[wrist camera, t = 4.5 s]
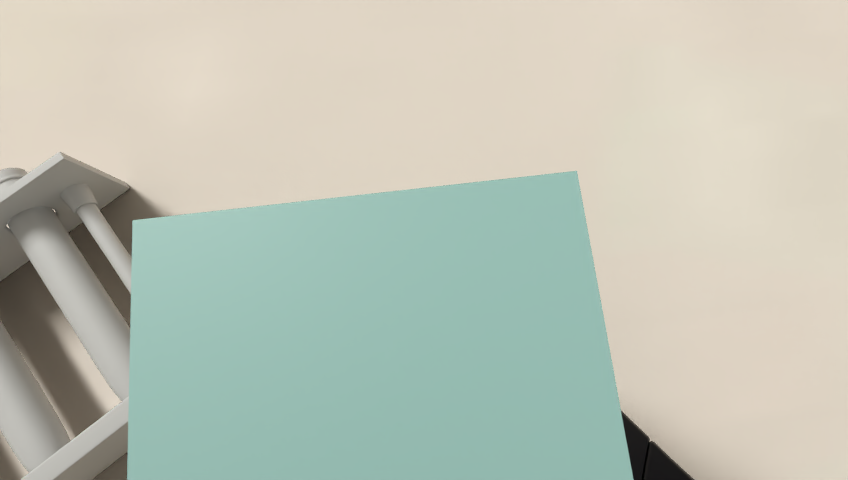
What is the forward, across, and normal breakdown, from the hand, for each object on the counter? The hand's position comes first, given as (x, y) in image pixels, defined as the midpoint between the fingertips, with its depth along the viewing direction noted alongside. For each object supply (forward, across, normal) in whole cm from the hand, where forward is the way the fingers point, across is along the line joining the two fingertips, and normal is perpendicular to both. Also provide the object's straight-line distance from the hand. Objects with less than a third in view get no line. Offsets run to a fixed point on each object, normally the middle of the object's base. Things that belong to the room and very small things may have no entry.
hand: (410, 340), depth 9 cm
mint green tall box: (+4, 0, +6) cm, 7 cm away
